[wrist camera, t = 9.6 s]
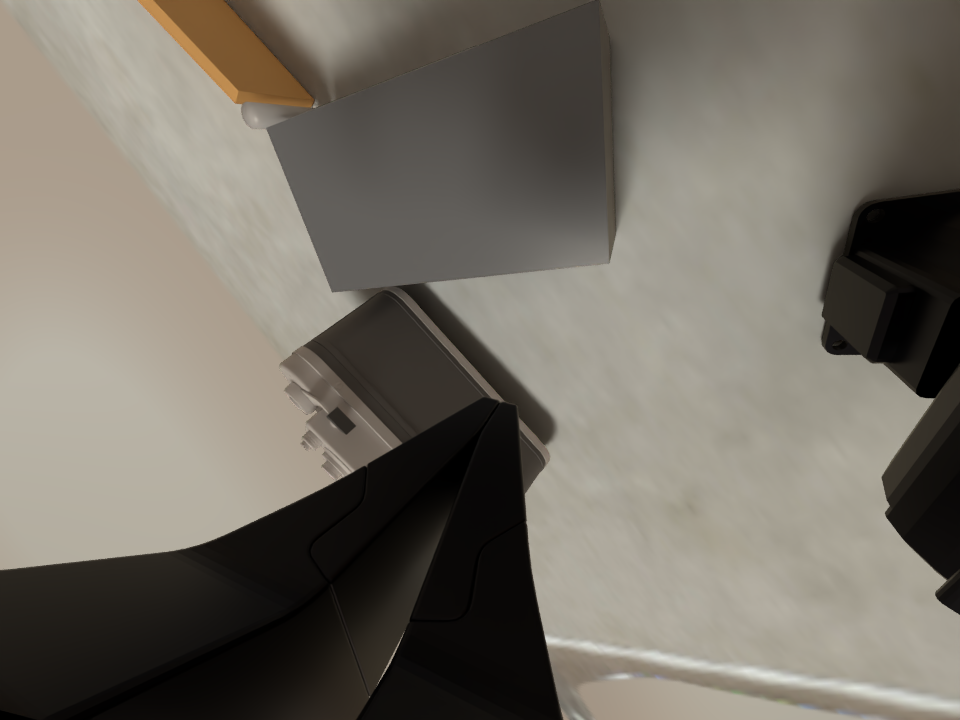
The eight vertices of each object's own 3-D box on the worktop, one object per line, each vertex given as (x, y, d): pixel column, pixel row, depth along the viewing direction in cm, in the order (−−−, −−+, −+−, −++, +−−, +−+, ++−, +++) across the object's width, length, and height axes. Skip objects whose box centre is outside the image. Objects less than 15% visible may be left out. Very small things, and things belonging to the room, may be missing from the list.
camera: (399, 266, 22) (235, 378, 16) (570, 456, 23) (470, 611, 18) (372, 321, 29) (256, 407, 24) (501, 459, 31) (418, 568, 26)
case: (608, 1, 14) (596, -55, 10) (615, 235, 18) (609, 263, 14) (317, 111, 20) (237, 105, 16) (371, 267, 24) (317, 293, 20)
